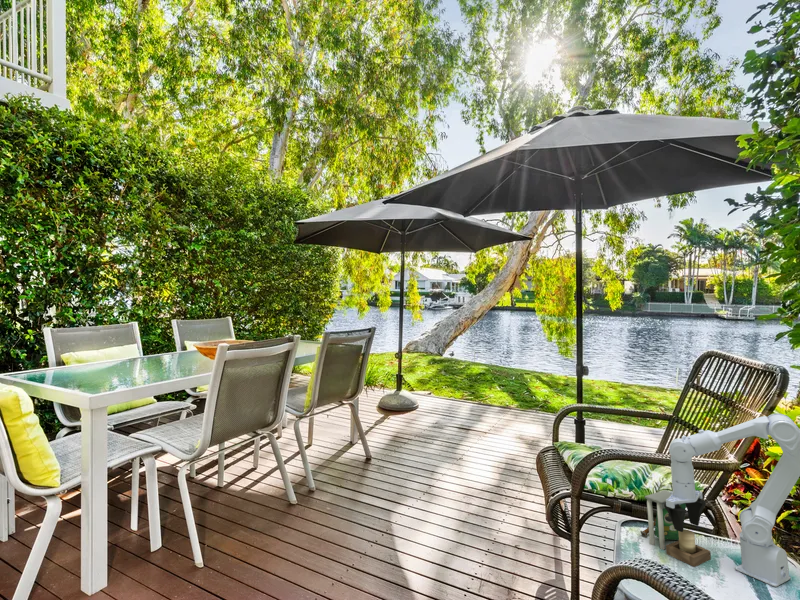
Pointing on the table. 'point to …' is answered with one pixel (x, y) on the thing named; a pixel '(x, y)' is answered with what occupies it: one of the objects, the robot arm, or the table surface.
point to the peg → (687, 541)
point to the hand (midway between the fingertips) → (686, 527)
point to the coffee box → (668, 525)
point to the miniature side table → (660, 499)
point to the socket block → (693, 560)
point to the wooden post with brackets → (648, 530)
